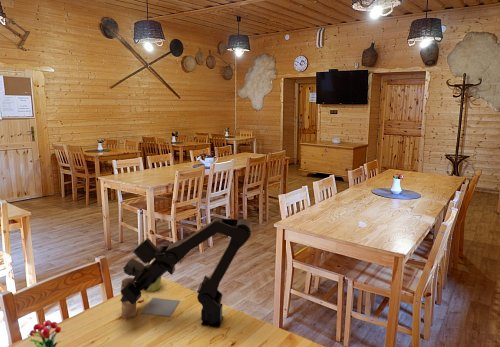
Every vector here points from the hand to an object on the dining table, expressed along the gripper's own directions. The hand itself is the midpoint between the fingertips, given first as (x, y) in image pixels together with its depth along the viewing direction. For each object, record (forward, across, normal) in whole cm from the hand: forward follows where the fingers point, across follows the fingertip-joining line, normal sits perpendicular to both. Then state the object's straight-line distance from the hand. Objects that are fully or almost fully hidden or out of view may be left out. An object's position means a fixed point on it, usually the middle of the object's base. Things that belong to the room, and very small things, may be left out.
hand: (125, 297), depth 136 cm
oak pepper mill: (+4, 0, +6) cm, 7 cm away
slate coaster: (-3, -7, +12) cm, 14 cm away
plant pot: (+4, -20, +6) cm, 21 cm away
